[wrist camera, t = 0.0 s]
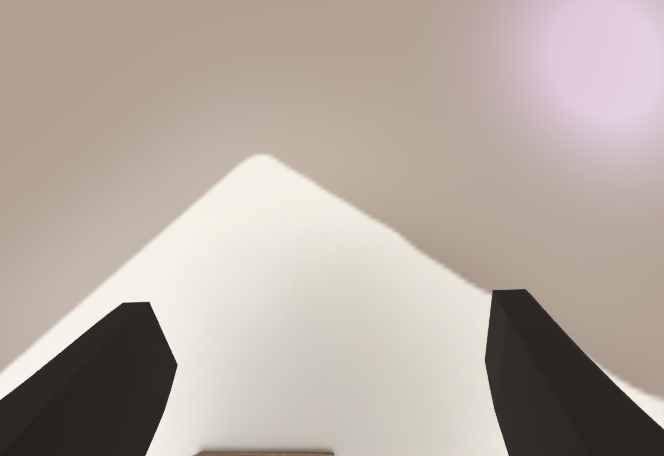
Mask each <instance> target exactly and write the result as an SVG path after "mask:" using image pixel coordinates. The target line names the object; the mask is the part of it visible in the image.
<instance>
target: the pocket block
mask: <svg viewBox="0 0 664 456" xmlns="http://www.w3.org/2000/svg"><path fill="white" fill-rule="evenodd" d="M194 456H334V453H277V452H200V453H198V454H196V455H194Z"/></svg>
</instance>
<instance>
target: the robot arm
mask: <svg viewBox="0 0 664 456" xmlns="http://www.w3.org/2000/svg"><path fill="white" fill-rule="evenodd" d="M485 364H486V370H487V375H488V380H489V385H490V390H491V395H492V400H493V405H494V410H495V413H496V416H497V419H498V423H499V426H500V429H501V432H502V435H503V439H504V442H505V445H506V448H507V451H508V455H509V456H664V429H663V428H662V427H661V426H660V425H658V424H657V423H656V422H655V421H654V420H653V419H652V418H651V417H650V416H649V415H648V414H646V413H645V412H644V411H643V410H642V409H641V408H640V407H639V406H638V405H637V404H636V403H635V402H634V401H632V400H631V399H630V398H629V397H628V396H627V395H626V394H625V393H624V392H623V391H622V390H621V389H620V388H619V387H618V386H617V385H616V384H615V383H614V382H613V381H612V380H611V379H610V378H609V377H608V376H607V375H606V374H605V373H604V372H603V371H602V370H601V369H600V368H599V367H598V366H597V365H596V364H595V363H594V362H593V361H592V360H591V359H590V358H589V357H588V356H587V355H586V354H585V353H584V352H583V351H582V350H581V349H580V348H579V347H578V346H577V345H576V343H575V342H574V341H573V340H572V339H571V338H570V337H569V336H568V335H567V334H566V333H565V332H564V331H563V330H562V328H561V327H560V326H559V325H558V324H557V323H556V322H555V321H554V320H553V319H552V318H551V316H550V315H549V314H548V313H547V312H546V311H545V310H544V309H543V308H542V307H541V305H540V304H539V303H538V302H537V301H536V300H535V299H534V297H533V296H532V295H531V294H530V293H529V292H528V291H527V290H525V289H520V290H519V289H518V290H493V293H492V301H491V310H490V319H489V328H488V337H487V345H486V354H485ZM176 369H177V363H176V360H175V358H174V356H173V354H172V351H171V349H170V347H169V345H168V343H167V340H166V338H165V336H164V334H163V331H162V329H161V327H160V325H159V322H158V320H157V318H156V316H155V314H154V311H153V309H152V307H151V305H150V302H131V303H122V304H121V305H119V306H118V307H117V308H115V309H114V310H113V311H111V312H110V313H109V314H107V315H106V316H105V317H104V318H102V319H101V320H100V321H99V322H97V323H96V324H95V325H94V326H92V327H91V328H90V329H89V330H87V331H86V332H85V333H84V334H82V335H81V336H80V337H79V338H78V339H76V340H75V341H74V342H73V343H72V344H70V345H69V346H68V347H67V348H65V349H64V350H63V351H62V352H60V353H59V354H58V355H57V356H56V357H54V358H53V359H52V360H51V361H49V362H48V363H47V364H46V365H44V366H43V367H42V368H41V369H40V370H38V371H37V372H36V373H35V374H33V375H32V376H31V377H30V378H28V379H27V380H26V381H25V382H23V383H22V384H21V385H19V386H18V387H17V388H15V389H14V390H13V391H12V392H10V393H9V394H8V395H6V396H5V397H4V398H2V399H1V400H0V456H145V455H146V453H147V451H148V449H149V446H150V444H151V441H152V439H153V437H154V434H155V432H156V430H157V427H158V425H159V423H160V420H161V418H162V415H163V413H164V411H165V407H166V404H167V401H168V398H169V394H170V391H171V388H172V384H173V380H174V377H175V373H176Z"/></svg>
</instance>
